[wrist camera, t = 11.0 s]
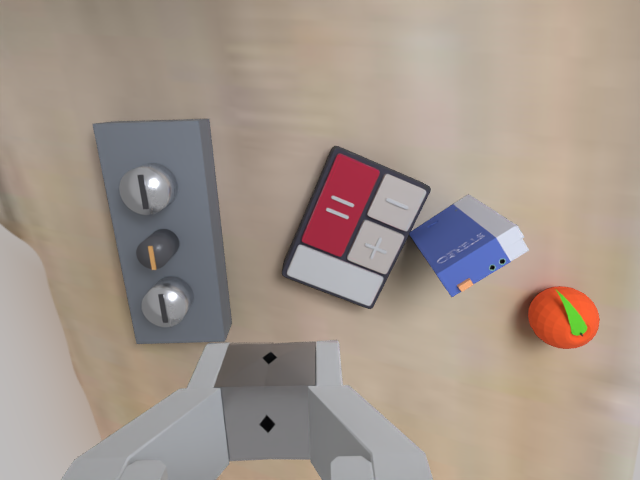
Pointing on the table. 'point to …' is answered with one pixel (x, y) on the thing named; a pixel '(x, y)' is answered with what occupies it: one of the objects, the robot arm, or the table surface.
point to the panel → (170, 223)
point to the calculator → (354, 228)
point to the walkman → (468, 243)
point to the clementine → (563, 317)
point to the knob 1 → (148, 188)
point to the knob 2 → (167, 301)
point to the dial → (157, 249)
